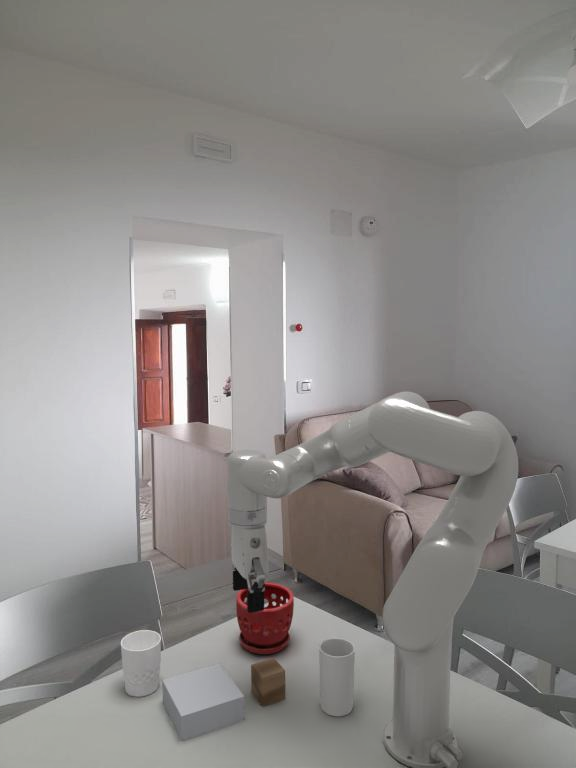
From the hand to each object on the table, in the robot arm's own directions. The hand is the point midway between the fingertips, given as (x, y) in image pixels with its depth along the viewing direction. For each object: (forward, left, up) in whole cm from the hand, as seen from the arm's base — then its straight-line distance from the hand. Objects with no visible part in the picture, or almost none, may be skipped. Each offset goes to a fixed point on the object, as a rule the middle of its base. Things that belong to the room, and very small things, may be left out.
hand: (248, 599), depth 115 cm
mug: (-11, -14, -20) cm, 26 cm away
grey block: (-1, +10, -20) cm, 22 cm away
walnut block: (-3, -3, -20) cm, 20 cm away
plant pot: (+14, -11, -20) cm, 27 cm away
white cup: (+12, +18, -20) cm, 29 cm away
